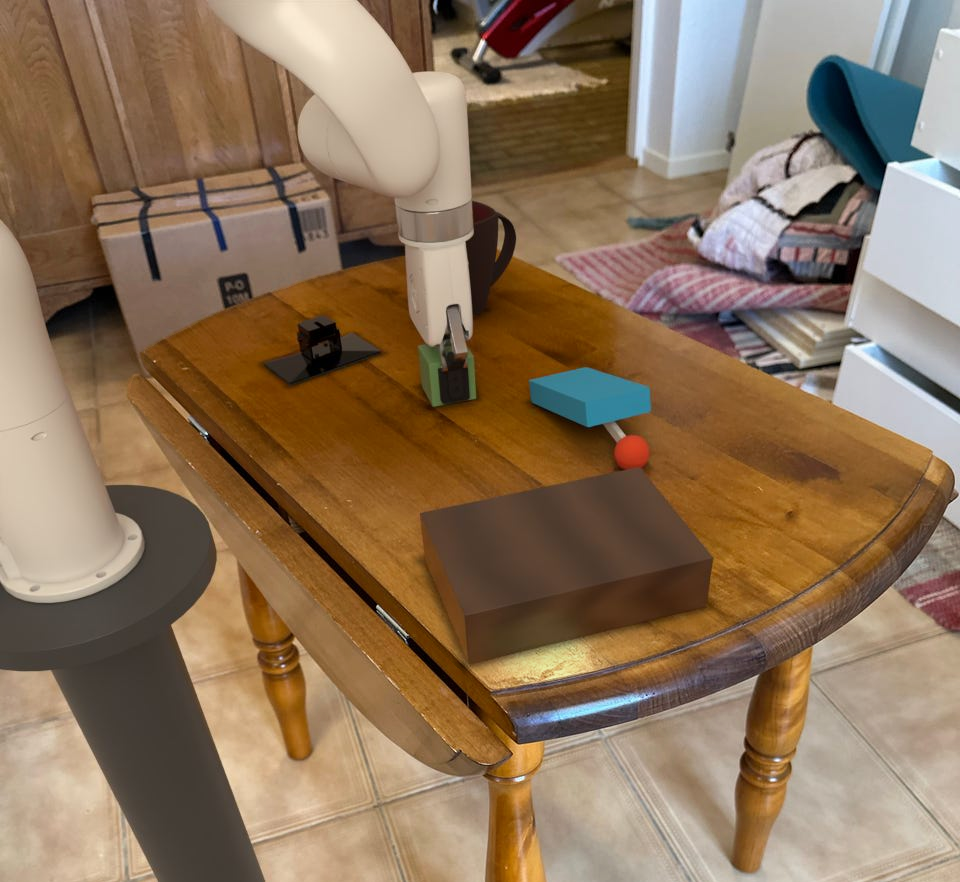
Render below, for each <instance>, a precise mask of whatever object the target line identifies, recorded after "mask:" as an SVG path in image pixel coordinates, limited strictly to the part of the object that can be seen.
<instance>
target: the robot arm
mask: <svg viewBox="0 0 960 882" xmlns="http://www.w3.org/2000/svg"><path fill="white" fill-rule="evenodd" d="M205 2H206V3H207V5H208V6H209V8H210V9H211V11H212V12H213V13H214V15H215V16H216V17H217V18H218V19H219V20H220V21H221V22H222V23H223V24H224V25H226V26H227V28H228V29H229V30H231V31H232V32H233V33H234V34H236V35H237V36H238V37H239V38H240V39H242V40H243V41H244V42H245V43H247V44H248V45H249V46H251V47H252V48H254V49H255V50H257V51H258V52H260V53H261V54H263V55H264V56H266V57H268V58H269V59H271V60H273V61H274V62H275V63H277V64H279V66H282V68H284V69H285V70H287V71H288V72H290V73H291V74H292V75H293V76H295V77H296V79H298V80H299V81H301V82H302V83H303V84H304V85H305V86H306V87H307V88H308V89H309V90H310V91H311V92H312V93H313V95H312V96H311V97H310V98H309V99H308V100H307V101H306V103H305V104H304V106H303V108H302V109H301V112H300V114H299V117H298V123H297V138H298V143H299V147H300V149H301V151H302V153H303V155H304V156H305V158H306V160H307V161H308V162H309V163H310V164H311V165H312V166H313V167H314V168H315V169H316V170H317V171H319V172H320V173H322V174H324V175H326V176H328V177H330V178H333V179H335V180H338V181H342V182H345V183H347V184H350V185H352V186H358V187H360V188H363V189H366V190H368V191H371V192H374V193H377V194H379V195H382V196H385V197H389V198H394V207H395V216H396V225H397V235H398V240H399V242H401V244H404V255H405V256H404V257H405V274H406V289H407V290H406V291H407V304H408V306H407V307H408V312H409V317H410V319H411V321H412V324H413V325H414V327H415V328H416V330H417V331H418V333H419V335H420V337H421V338H422V340H423V341H424V344H427V345H429V346H430V347H435V345H438V352H439V359H440V366H441V368H438V377H439V388H440V400H441V402H442V403H443V404H446V405H450V404H449V403H451V404H455V403H454V402H456V403H461V402H460V401H462V402H465V400H467V401H469V400H468V399H469V398H470V391H469V375H468V361H467V355H468V352H467V347H468V346H467V342H469V341H470V340H471V339H472V337H473V333H474V320H473V317H474V316H472V300H471V288H470V278H469V268H468V264H469V263H468V259H467V251H466V243H465V241H467V240H468V239H470V238H471V237H472V236H473V233H474V230H473V210H472V201H473V196H472V193H473V192H472V177H471V176H472V175H471V157H470V156H471V155H470V138H469V122H468V121H469V120H468V102H467V93H466V89H465V85H464V83H463V82H462V80H461V79H460V78H459V77H458V76H456V75H455V74H452V73H449V72H445V71H437V70H436V71H435V70H434V71H431V70H430V71H418V72H417V71H415V72H412V70H411V68H410V66H409V65H408V62H406V59H405V58H404V56H403V54H402V53H401V52H400V50H399V49H398V47H397V46H396V44H395V43H394V41H393V40H392V39H391V38H390V36H389V35H388V33H387V32H386V31H385V29H383V27H382V26H381V25H380V23H378V21H377V20H376V19H375V18H374V17H373V15H371V14H370V12H369V11H368V10H367V9H366V8H365V7H364V6H363V5H362V4H361V3H360V2H359V1H358V0H205ZM37 289H38V288H37V286H36V281H35V279H34V275H33V271H32V269H31V266H30V263H29V261H28V259H27V256H26V254H25V252H24V250H23V248H22V246H21V245H20V243H19V241H18V239H16V237H15V235H14V234H13V233H12V231H11V230H10V228H9V227H8V226H7V225H6V224H5V223H4V222H3V220H2V219H1V218H0V582H1V584H2V586H3V587H4V588H5V590H6V591H7V592H8V593H10V594H11V595H13V596H14V597H16V598H19V599H22V600H24V601H30V602H36V603H57V602H66V601H70V600H75V599H79V598H83V597H86V596H89V595H92V594H94V593H97V592H99V591H101V590H103V589H106V588H107V587H109V586H111V585H113V584H114V583H116V582H118V581H119V580H120V579H122V578H123V577H124V576H126V575H127V574H128V573H129V572H130V571H131V570H132V569H133V568H134V567H135V566H136V565H137V563H138V562H139V560H140V559H141V557H142V554H143V552H144V547H145V541H144V538H143V535H142V531H141V529H140V528H139V526H138V524H137V523H136V522H134V521H133V520H132V519H130V518H129V517H127V516H125V515H122V514H118V513H115V510H114V508H113V505H112V502H111V500H110V497H109V495H108V492H107V489H106V487H105V485H106V484H105V482H104V479H103V476H102V474H101V471H100V468H99V466H98V463H97V460H96V458H95V456H94V452H93V450H92V448H91V445H90V443H89V439H88V437H87V435H86V432H85V429H84V426H83V424H82V421H81V418H80V416H79V413H78V411H77V408H76V405H75V403H74V400H73V397H72V394H71V393H70V390H69V387H68V386H67V383H66V381H65V378H64V375H63V372H62V369H61V367H60V364H59V361H58V359H57V357H56V353H55V351H54V348H53V345H52V342H51V339H50V335H49V332H48V329H47V326H46V321H45V319H44V314H43V311H42V305H41V303H40V297H39V294H38V290H37ZM466 341H467V342H466ZM446 346H452V350H451V351H452V352H448V354H447V357H446V352H445V347H446ZM466 346H467V347H466Z"/></svg>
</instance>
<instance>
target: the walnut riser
mask: <svg viewBox="0 0 960 882" xmlns="http://www.w3.org/2000/svg"><path fill="white" fill-rule="evenodd" d="M419 521H420V528H421V529H420V530H421V537H422V539H421V540H422V546H423V555H424V562H425V565H426V566H427V568H428V571H429V573H430V576H431V578H432V580H433V583H434V585H435V588H436V590H437V592H438V594H439V595H438V596H439V597H440V599H441V602H442V604H443V606H444V609H445V611H446V613H447V617H448V618H449V621H450V623H451V626H452V628H453V630H454V633H455V635H456V637H457V640H458V643H459V645H460V647H461V649H462V651H463V654H464V657H465V659H466V661H467V664H468V665H470V664H475V663H480V662H483V661H488V660H492V659H496V658H500V657H505V656H509V655H512V654H513V655H514V654H517V653H521V652H525V651H530V650H533V649H537V648H541V647H546V646H549V645H553V644H558V643H562V642H563V643H564V642H566V641H571V640H575V639H580V638H583V637H587V636H591V635H596V634H599V633H603V632H607V631H611V630H612V631H613V630H616V629H620V628H624V627H628V626H633V625H637V624H641V623H645V622H649V621H654V620H657V619H661V618H666V617H669V616H674V615H678V614H683V613H686V612H690V611H695V610H698V609H703V608H707V604H708V596H709V589H710V583H711V578H712V577H711V576H712V572H713V564H714V556H713V555H712V554H711V552H710V551H709V550H708V549H707V547H706V546H704V544H703V543H702V542H701V540H700V539H699V538H698V537H697V535H696V534H695V533H694V532H693V531H692V529H691V528H690V527H689V526H688V524H687V523H686V522H685V521H684V519H683V518H682V517H681V516H680V514H679V512H677V511H676V510H675V508H674V507H673V506H672V505H671V504H670V502H669V501H668V500H667V498H666V497H665V496H664V495H663V494H662V493H661V491H660V490H659V489H658V488H657V487H656V485H655V484H654V482H653V481H652V480H651V479H650V478H649V476H648V475H647V474H646V473H645V471H644V470H643V469H642V468H640V467H637V468H632V469H627V470H624V469H622V470H619V471H618V470H617V471H614V472H609V473H604V474H600V475H594V476H589V477H584V478H580V479H575V480H571V481H566V482H560V483H557V484H556V483H555V484H552V485H547V486H542V487H537V488H533V489H528V490H523V491H518V492H514V493H509V494H504V495H500V496H499V495H498V496H494V497H489V498H485V499H480V500H475V501H470V502H467V503H461V504H456V505H451V506H446V507H442V508H437V509H433V510H432V509H431V510H427V511H423V512H420V513H419Z"/></svg>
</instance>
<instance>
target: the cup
mask: <svg viewBox="0 0 960 882" xmlns="http://www.w3.org/2000/svg"><path fill="white" fill-rule="evenodd" d="M472 210H473V230H474V233H473V236H472V237H471V238H470V239H468V240H467V241H465V243H466V251H467V259H468V263H469V264H468V268H469V278H470V288H471V300H472V316H473V317H475V316H477V315H479V314H481V313H482V312H484V311H485V309H486V307H487V304H488V301H489V296H490V293H491V288H492V287H493V286H494V285H495V284H496V283H497V282H498V280H499V279H500V278H501V277H502V276H503V274H504V273H505V271H506V270H507V268H508V266H509V265H510V263H511V260H512V258H513V256H514V253H515V249H516V245H517V233H516V229H515V226H514V224H513V223H512V221H511V220H510V219H509V218H508V217H506V216H505V215H503V214H502V213H501V212H498V211H496V210H495V209H494V208H493V207H491V206H490V205H488V204H485V203H483V202H479V201H475V200H472ZM499 220H500V221H501V223H502V227H503V232H504V236H503V242H502V246H501V250H500V253H499V255H498V257H497V253H498V243H499ZM496 258H497V259H496Z"/></svg>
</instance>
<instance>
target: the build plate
mask: <svg viewBox="0 0 960 882" xmlns="http://www.w3.org/2000/svg"><path fill="white" fill-rule="evenodd" d="M297 329H298V331H296V336H297V337H296V340H297V342H298V346H299V350H296V351H294V352H291V353H287V354H285V355H282V356H279V357H276V358H273V359H271V360H267V361H264V362H263V365H264V367H265V368H266V369H268V370H269V371H270V372H272V373H273V374H275V376H276V377H278V378H280V379H281V380H282V381H283V382H285V383H286V384H287V385H289V386H295V385H297V384H300V383H303V382H305V381H308V380H311V379H314V378H316V377H320V376H322V375H325V374H329V373H331V372H334V371H336V370H339V369H341V368H344V367H348V366H351V365H353V364H356V363H360V362H362V361H365V360H367V359H370V358H374V357H376V356H379V355H381V354H382V352H381V351H382V350H381V349H379V348H377V347H376V346H374V345H373V344H371V343H369V342H368V341H367V340H365V339H363V338H361V337H360V336H358V335H357V334H355V333H354V332H350V333H346V334H344V335H341V332H340V328H338V327H337V322H336V321H334V320H333V319H331V318H330V317H328V316H327V315H325V314H323V315H319V316H317V317H313V318H310V319H307V320H304V321H300V322H298V323H297Z"/></svg>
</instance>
